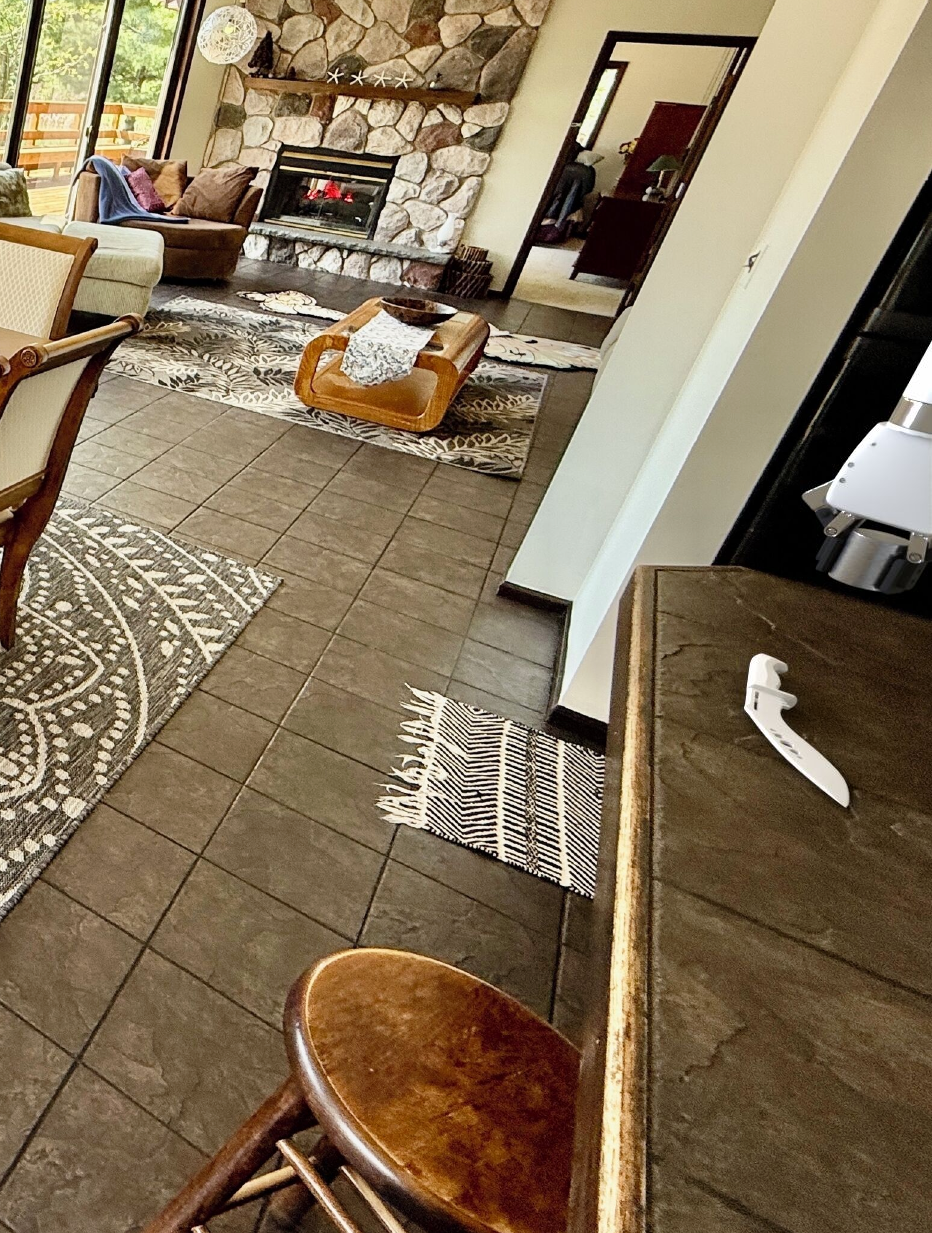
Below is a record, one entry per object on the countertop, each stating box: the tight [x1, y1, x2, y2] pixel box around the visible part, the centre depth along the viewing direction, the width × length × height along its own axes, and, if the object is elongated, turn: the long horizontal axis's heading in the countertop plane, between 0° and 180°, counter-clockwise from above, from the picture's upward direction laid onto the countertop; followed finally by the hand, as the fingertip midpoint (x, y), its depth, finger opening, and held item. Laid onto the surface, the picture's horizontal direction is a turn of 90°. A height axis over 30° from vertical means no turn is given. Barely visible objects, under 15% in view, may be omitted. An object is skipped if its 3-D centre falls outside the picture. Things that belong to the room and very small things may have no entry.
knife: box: [744, 653, 850, 808], centre depth 97 cm, size 30×2×8 cm
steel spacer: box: [828, 527, 910, 592], centre depth 97 cm, size 4×4×6 cm
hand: (858, 579), depth 98 cm, fingers closed on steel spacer, 4 cm apart
